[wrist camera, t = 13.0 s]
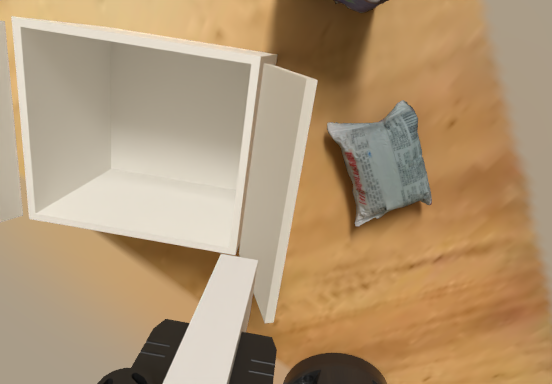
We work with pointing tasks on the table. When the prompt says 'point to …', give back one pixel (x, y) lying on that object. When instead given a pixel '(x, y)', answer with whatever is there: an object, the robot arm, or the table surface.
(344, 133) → the packaged food
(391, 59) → the table surface
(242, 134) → the carton
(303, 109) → the flap right
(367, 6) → the purple green package
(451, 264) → the table surface
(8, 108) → the flap left
